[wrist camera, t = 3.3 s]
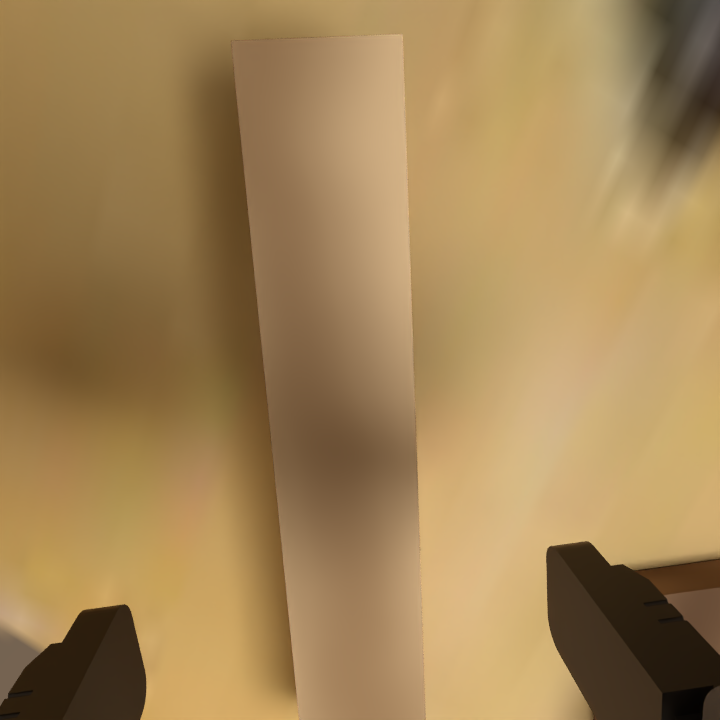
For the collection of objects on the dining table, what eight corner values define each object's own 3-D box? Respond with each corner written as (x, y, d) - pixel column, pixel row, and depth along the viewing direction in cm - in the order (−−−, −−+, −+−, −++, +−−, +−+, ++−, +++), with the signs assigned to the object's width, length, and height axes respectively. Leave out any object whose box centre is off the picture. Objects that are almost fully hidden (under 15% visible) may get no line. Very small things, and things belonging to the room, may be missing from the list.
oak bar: (374, 95, 17) (402, 33, 12) (401, 687, 23) (429, 846, 17) (260, 100, 17) (230, 40, 11) (314, 696, 23) (313, 860, 17)
